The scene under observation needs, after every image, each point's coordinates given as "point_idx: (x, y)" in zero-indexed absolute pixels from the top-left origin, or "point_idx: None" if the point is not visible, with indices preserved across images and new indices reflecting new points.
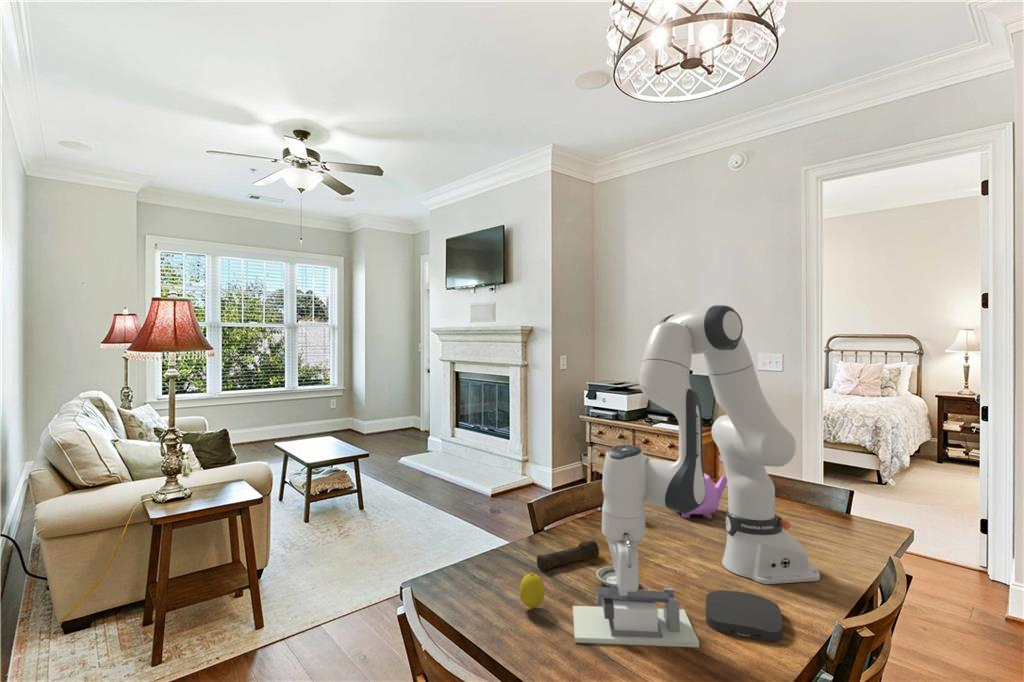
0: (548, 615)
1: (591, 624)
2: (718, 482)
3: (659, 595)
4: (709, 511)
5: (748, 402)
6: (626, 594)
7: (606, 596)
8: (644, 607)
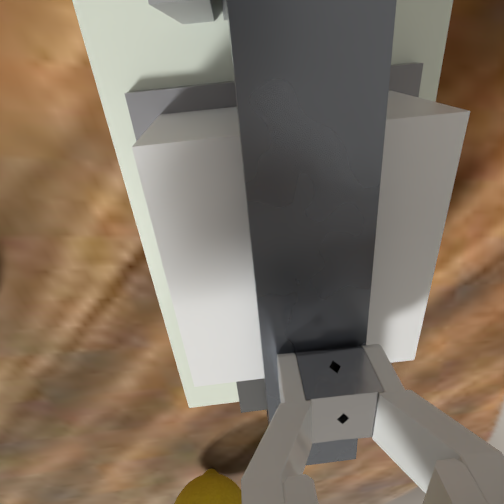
0: (237, 437)
1: None
2: None
3: (329, 79)
4: None
5: None
6: (381, 351)
7: None
8: (420, 209)
